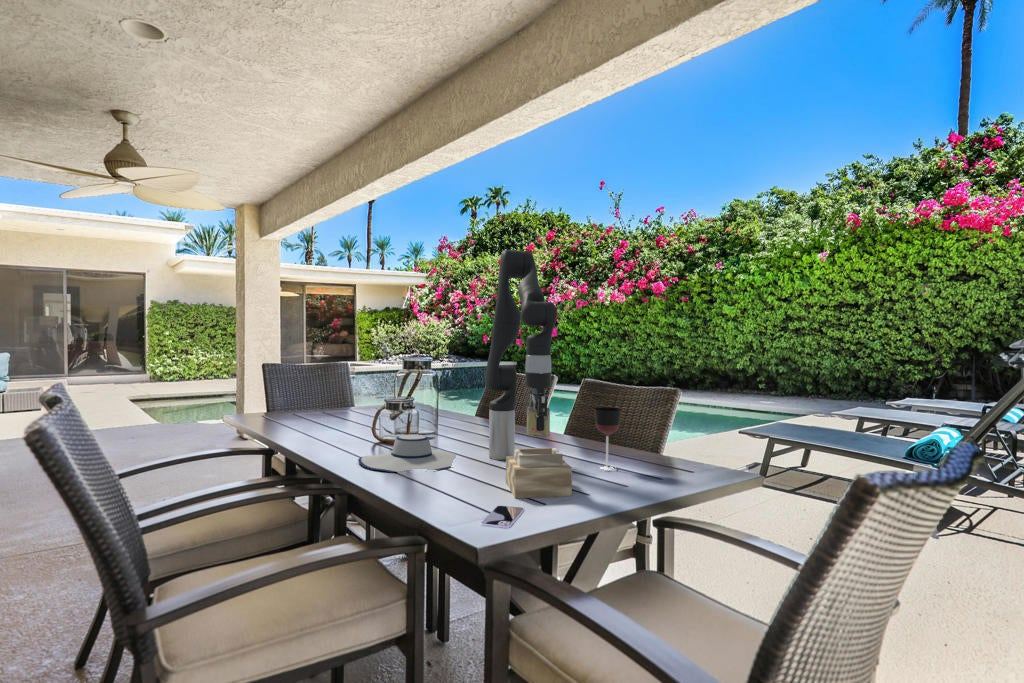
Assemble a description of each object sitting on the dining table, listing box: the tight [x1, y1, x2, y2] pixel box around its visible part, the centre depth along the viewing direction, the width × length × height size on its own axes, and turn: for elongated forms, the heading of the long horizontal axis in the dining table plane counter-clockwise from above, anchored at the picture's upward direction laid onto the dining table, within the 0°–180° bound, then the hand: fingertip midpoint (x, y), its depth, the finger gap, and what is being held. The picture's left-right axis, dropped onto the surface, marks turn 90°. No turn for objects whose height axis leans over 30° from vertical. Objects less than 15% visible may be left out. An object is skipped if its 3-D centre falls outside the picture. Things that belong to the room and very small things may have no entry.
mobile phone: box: [479, 505, 525, 529], centre depth 145 cm, size 8×1×15 cm
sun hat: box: [357, 433, 456, 473], centre depth 205 cm, size 36×36×9 cm
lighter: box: [526, 400, 551, 437], centre depth 170 cm, size 7×4×10 cm, turn 62°
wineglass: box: [593, 406, 622, 470], centre depth 194 cm, size 8×9×20 cm
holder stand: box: [505, 447, 573, 499], centre depth 170 cm, size 16×16×11 cm
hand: (537, 428), depth 170 cm, fingers closed on lighter, 5 cm apart
